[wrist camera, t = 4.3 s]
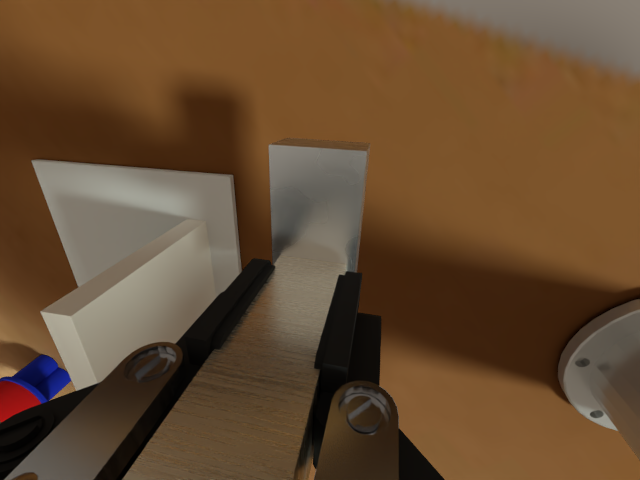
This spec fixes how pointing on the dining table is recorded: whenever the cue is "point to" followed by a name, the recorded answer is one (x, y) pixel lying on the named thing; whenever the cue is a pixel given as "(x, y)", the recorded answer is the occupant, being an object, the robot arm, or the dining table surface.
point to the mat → (136, 213)
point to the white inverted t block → (272, 332)
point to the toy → (31, 386)
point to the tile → (134, 303)
